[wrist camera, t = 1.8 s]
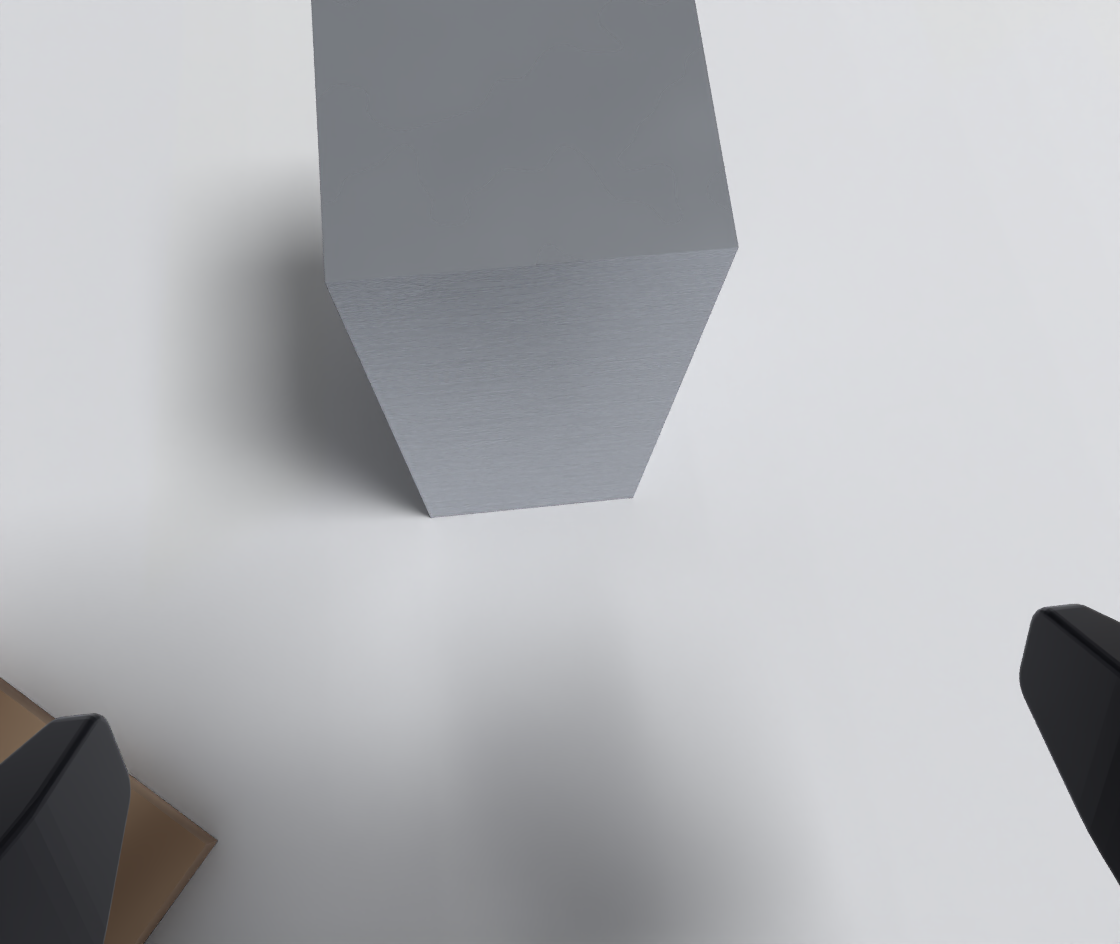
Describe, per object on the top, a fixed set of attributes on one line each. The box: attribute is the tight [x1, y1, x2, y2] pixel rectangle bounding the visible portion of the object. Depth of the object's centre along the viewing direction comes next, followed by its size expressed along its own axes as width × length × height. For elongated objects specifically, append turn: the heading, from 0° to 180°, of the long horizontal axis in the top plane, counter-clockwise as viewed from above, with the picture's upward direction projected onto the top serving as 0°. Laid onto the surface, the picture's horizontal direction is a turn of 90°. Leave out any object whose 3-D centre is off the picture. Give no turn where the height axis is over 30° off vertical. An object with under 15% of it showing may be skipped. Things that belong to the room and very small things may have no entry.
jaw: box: [311, 0, 738, 518], centre depth 18 cm, size 5×6×12 cm
